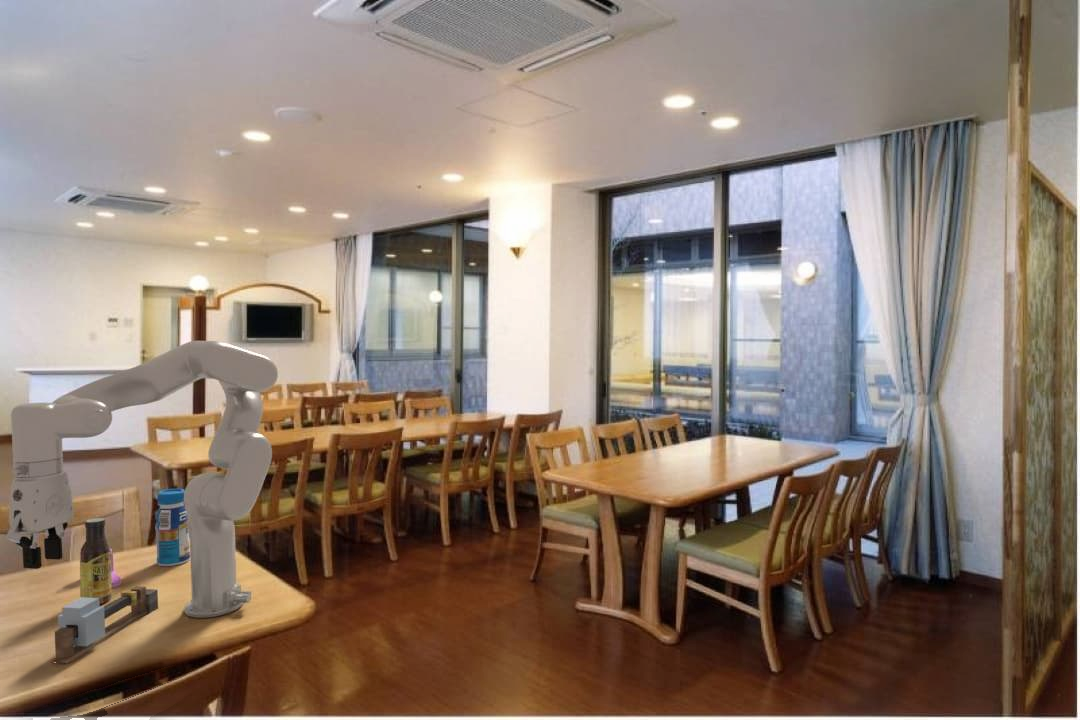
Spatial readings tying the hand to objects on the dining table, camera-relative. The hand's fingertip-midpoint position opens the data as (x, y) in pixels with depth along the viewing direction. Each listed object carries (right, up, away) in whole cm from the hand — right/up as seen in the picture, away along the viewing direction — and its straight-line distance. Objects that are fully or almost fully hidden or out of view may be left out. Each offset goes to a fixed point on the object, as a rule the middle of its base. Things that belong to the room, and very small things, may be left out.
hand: (43, 562), depth 128 cm
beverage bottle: (-8, -18, +60) cm, 63 cm away
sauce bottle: (-12, -20, +33) cm, 40 cm away
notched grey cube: (+1, -19, +10) cm, 21 cm away
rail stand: (+2, -20, +17) cm, 26 cm away
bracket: (-18, -19, +46) cm, 53 cm away
